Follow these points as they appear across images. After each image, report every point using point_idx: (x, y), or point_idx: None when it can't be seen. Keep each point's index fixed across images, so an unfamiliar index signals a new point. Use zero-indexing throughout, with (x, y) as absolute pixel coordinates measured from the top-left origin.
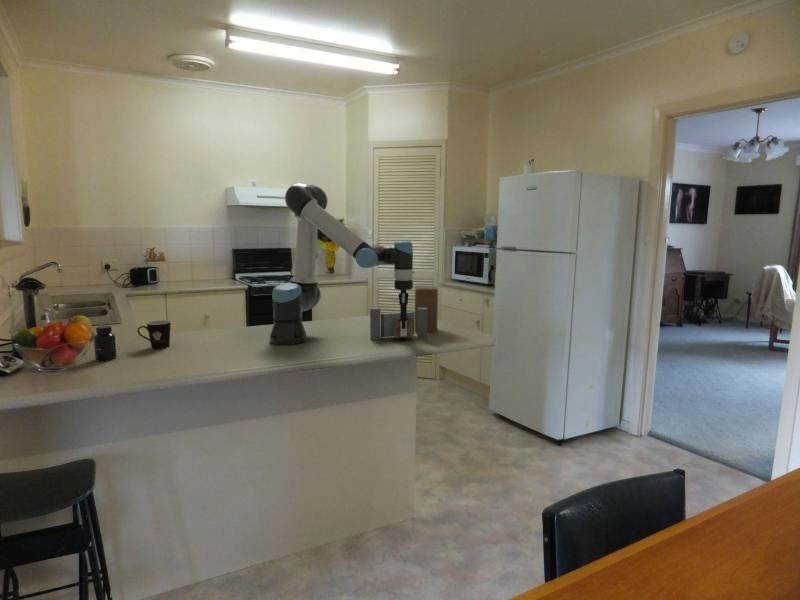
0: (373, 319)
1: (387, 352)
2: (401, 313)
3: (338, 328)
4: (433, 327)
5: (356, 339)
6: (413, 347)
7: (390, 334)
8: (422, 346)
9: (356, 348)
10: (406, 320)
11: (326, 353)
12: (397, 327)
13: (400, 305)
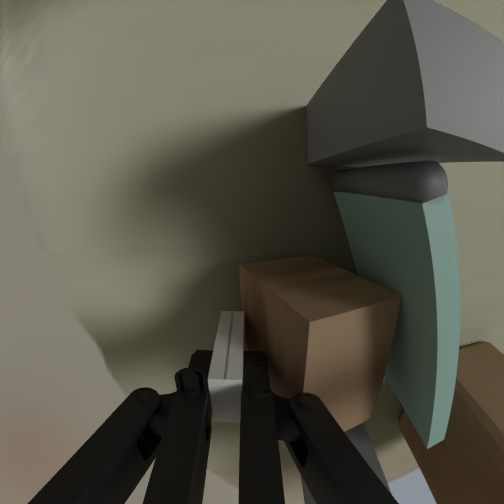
0: (351, 79)
1: (38, 231)
2: (96, 440)
3: (478, 16)
4: (406, 430)
5: (294, 33)
6: (130, 351)
7: (351, 237)
8: (156, 386)
9: (94, 70)
10: (233, 420)
11: (52, 6)
12: (266, 317)
13: (37, 495)
